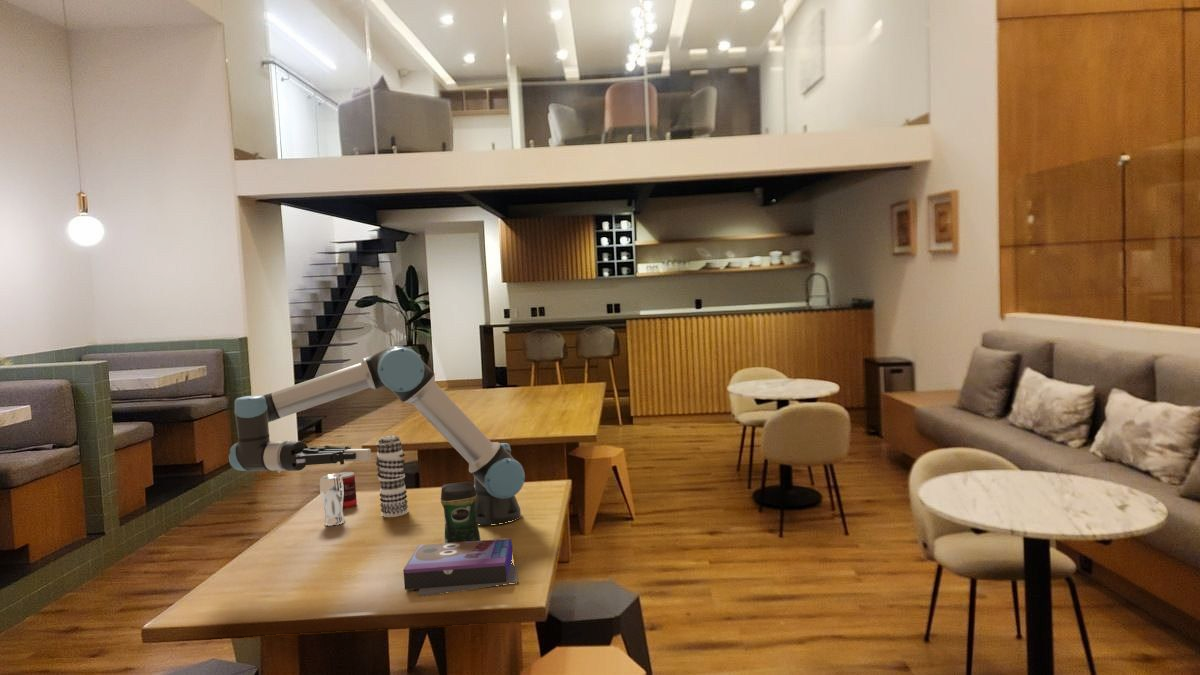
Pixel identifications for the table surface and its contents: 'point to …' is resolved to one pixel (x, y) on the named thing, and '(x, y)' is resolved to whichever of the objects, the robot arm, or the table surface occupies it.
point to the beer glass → (332, 498)
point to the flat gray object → (437, 590)
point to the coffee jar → (460, 512)
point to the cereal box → (459, 564)
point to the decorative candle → (391, 477)
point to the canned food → (349, 489)
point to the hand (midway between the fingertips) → (369, 454)
